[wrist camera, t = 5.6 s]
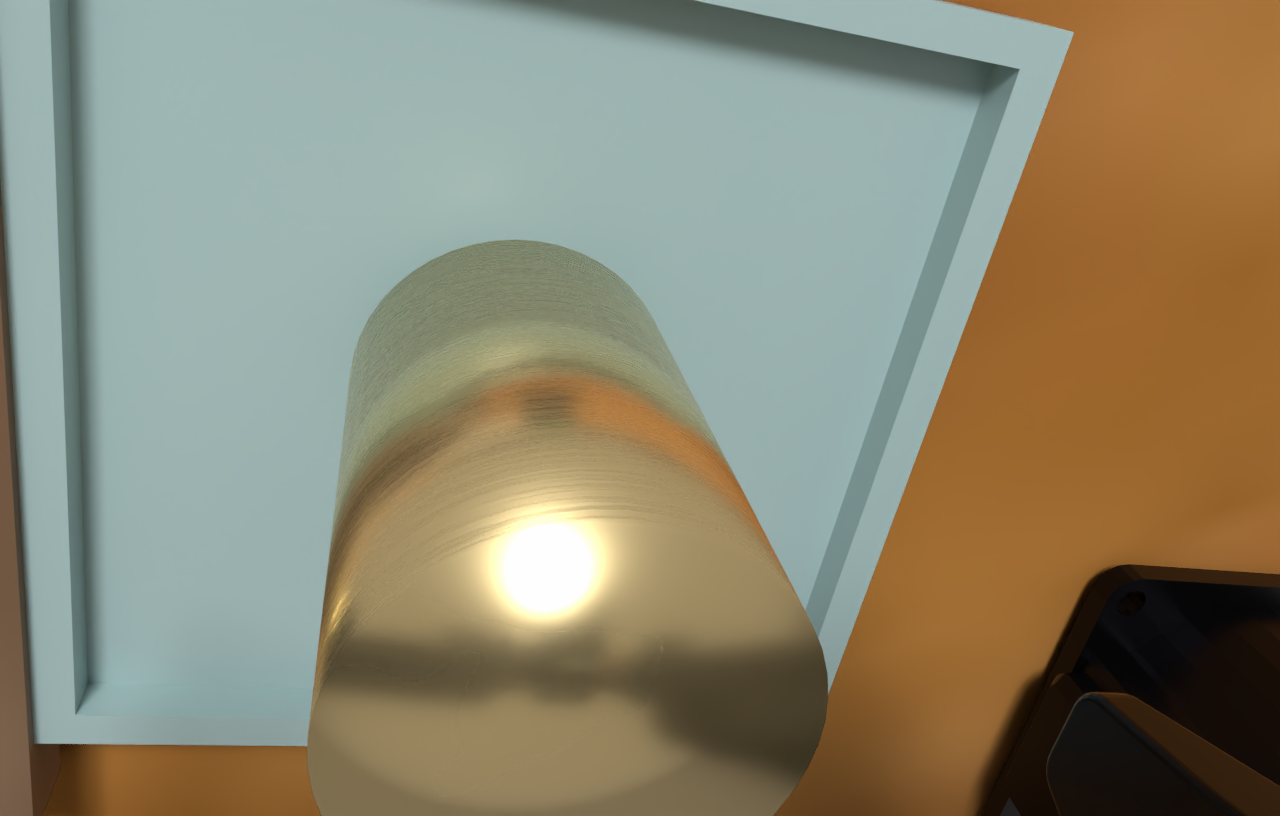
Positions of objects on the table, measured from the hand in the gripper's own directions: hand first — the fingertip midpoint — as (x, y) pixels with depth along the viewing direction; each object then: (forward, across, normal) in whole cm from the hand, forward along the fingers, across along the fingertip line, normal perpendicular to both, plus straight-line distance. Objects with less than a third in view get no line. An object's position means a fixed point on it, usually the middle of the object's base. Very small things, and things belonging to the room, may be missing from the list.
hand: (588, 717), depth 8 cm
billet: (+6, 0, 0) cm, 6 cm away
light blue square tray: (+6, 0, 0) cm, 6 cm away
